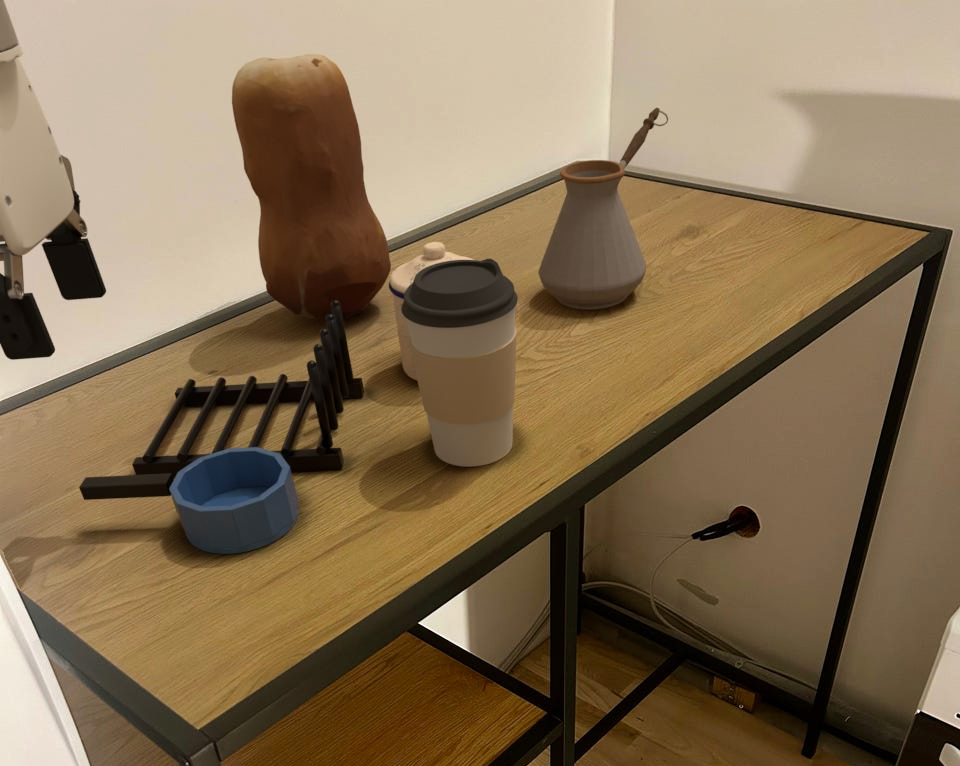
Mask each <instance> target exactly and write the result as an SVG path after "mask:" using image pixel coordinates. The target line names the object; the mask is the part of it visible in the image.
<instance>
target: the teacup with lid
mask: <svg viewBox="0 0 960 766" xmlns="http://www.w3.org/2000/svg"><path fill="white" fill-rule="evenodd" d="M422 251H423V253H422V254H420V255H419V254H418V256H416V257H415V258H413V259H412V260H409V261H407V262H404V263H403V264H401V265H399V266H397V268H395V269H394V270H393V272H392V273H391V275H390V276H389V281H388V289H389V291H390V293H392V294H391V295H392V301H393V307H394V314H395V321H396V322H395V323H396V327H397V328H396V329H397V335H398V343H399V350H400V356H401V357H400V358H401V363H402V364H401V365H402V369H403V371H404V373H405V374H406V375H407V376H408V377H409V378H411V379H412V380H414V381H416V382H418V380H417V376H416V371H415V367H414V363H413V358H412V354H411V350H410V345H409V336H410V334H409V330H408V325H407V321H406V317H405V316H404V315H403V314H402V311H401V307H402V304H403V302H404V293H405V291H406V289H407V288H408V287H409V286H410V285H411V284H412V283H413V281H414V278H415V276H416V274H417V273H418V272H420V271H421V270H422V269H424V268H426V267H428V266H431V265H434V264H437V263H441V262H446V261H452V260H475V258H470V257H468V256H464V255H457V254H456V253H454V252H450V251H446V245H445V244H444V243H442V242H440V241H431V242H428V243H426V244H424V246H423V248H422ZM518 312H519V301H518V302H517V304H516V306H515V319H516V317H517V315H518Z"/></svg>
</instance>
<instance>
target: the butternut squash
mask: <svg viewBox="0 0 960 766" xmlns="http://www.w3.org/2000/svg"><path fill="white" fill-rule="evenodd" d="M231 106H232V113H233V119H234V123H235V129H236V132H237V135H238V139H239V143H240V147H241V151H242V161H243V170H244V173H245V175H246V176H247V179H248V181H249V184H250V186H251V189H252V190H253V192H254V194H255V195H256V197H257V200H258V202H259V207H260V216H259V225H258V239H257V242H258V243H257V245H258V259H259V264H260V269H261V273H262V276H263V279H264V281H265V289H266V292H267V294H268V295H269V296H270V297H271V298H272V299H274V300H275V301H276V302H278V304H281V306H282V307H285V308H286V309H287V310H288V311H290V312H291V313H293V314H294V315H296V316H300V317H305V318H311V319H315V320H316V319H317V320H318V319H325V318H326V315H328V314H332V315H333V312H332V307H331V302H332V301H333V300H338V301H339V302H340V306H341V312H342V317H343V320H346V319H348V318H350V317H352V316H354V315H356V314H359V313H361V312H362V311H363V310H364V308H366V306H367V305H369V304H370V302H371V301H372V300H373V299H374V298H375V297H376V296H377V294H378V293H379V292H380V290H381V289H382V288H383V287H384V285H385V283H386V282H387V279H388V277H389V275H390V272H391V268H392V264H391V259H390V258H391V257H390V252H389V251H390V250H389V244H388V239H387V237H386V234H385V231H384V229H383V225H382V224H381V222H380V220H379V219H378V216H377V215H376V213H375V212H374V210H373V207H372V206H371V203H370V202H369V199H368V196H367V195H368V194H367V191H366V185H365V180H364V179H365V177H364V172H365V171H364V161H363V152H362V139H361V133H360V126H359V123H358V118H357V114H356V112H355V109H354V105H353V101H352V98H351V93H350V89H349V86H348V83H347V81H346V78H345V76H344V73H342V71H341V69H340V67H339V66H338V64H336V63H335V62H334V61H332V60H331V59H329V58H328V57H326V56H325V55H323V54H316V53H315V54H314V53H313V54H303V55H295V56H291V57H283V58H282V57H281V58H271V57H259V58H256V59H252V60H250V61H248V62H246V63H244V65H242V66H241V67H240V69H239V70H237V72H236V74H235V77H234V79H233V82H232V87H231Z"/></svg>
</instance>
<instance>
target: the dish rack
mask: <svg viewBox="0 0 960 766" xmlns="http://www.w3.org/2000/svg"><path fill="white" fill-rule="evenodd" d="M331 307H332V312H333V315H332V314H328V315H326V318H324V319H325V324H326V328H321V329H320V330H319V338H320V343H321V344H320V343H315V344H314V345H313V348H312V350H313V355H314V358H315V360H309V361H307V363H306V371H307V374H308V379H307V380H295V381H288V376H287V375H286V374H285V373H281V374H279V376H278V378H277V380H276V381H275V382H259V383H257V381H258V379H257V378H256V376H254V375H249V377H247V380H246V382H245V383H239V384H227V379H225V377H218V379H217V380H216V382H215V383H214V385H203V386H196V385H197V383H196V381H195V379H193V378H189V379H187V380H186V382H185V384H184V386H183V387H177V388H176V389H175V392H174V396H175V401H174V403H173V405H172V407H171V408H170V410H169V411H168V413H167V414H166V416H165V418H164V420H163V421H162V423H161V425H160V426H159V429H158V430H157V432H156V433H155V434H154V437H153V438H152V440H151V441H150V443H149V445H148V447H147V449H146V450H145V452H144V453H143V455H142V456H136V457H135V458H134V460H133V462H132V463H131V465H132V468H133V471H134V475H147V474H168V473H171V474H172V477H173V478H175V477H176V475H177V473H178V472H179V471H180V470H182V469H183V468H185V467H186V466H188V465H189V464H191V463H192V462H194V461H195V460H197V459H198V458H200V457H203V456H206V455H210V454H213V453H216V452H219V451H223V450H226V447H227V445H228V443H229V441H230V438H231V437H232V435H233V433H234V430H235V428H236V426H237V424H238V422H239V419H240V417H241V415H242V413H243V411H244V409H245V407H246V405H249V404H266V406H265V407H264V410H263V413H262V415H261V417H260V419H259V421H258V424H257V425H256V428H255V430H254V433H253V435H252V437H251V440H250V441H249V444H248V447H247V448H250V447H259V448H260V446H261V443H262V441H263V438H264V436H265V434H266V431H267V429H268V427H269V424H270V423H271V420H272V417H273V415H274V412H275V410H276V408H277V405H278V403H287V402H299V403H298V406H297V408H296V410H295V413H294V416H293V418H292V421H291V423H290V426H289V428H288V431H287V434H286V435H285V439H284V441H283V444H282V446H281V449H280V450H272V451H273V452H276V453H279V454H281V455H282V457H283V458H284V460H285V461H286V462H287V464H288V465H289V466H290V469H291V473H294V472H295V473H297V472H315V471H316V472H317V471H338V470H340V471H341V470H342V469H343V467H344V463H345V460H344V456H343V451H342V450H343V449H342V447H333V445H334V442H333V436H332V432H333V431H337V430H339V421H338V417H337V416H338V414H342V413H344V410H345V408H344V402H343V400H344V399H361V398H362V399H363V397H364V394H365V388H364V382H363V381H364V380H363V378H362V377H354V373H353V367H352V363H351V356H350V351H349V346H348V339H347V334H346V329H345V328H346V327H345V323H344V319H343V317H342V312H341V306H340V302H339V301H338V300H333V301H332V302H331ZM311 401H313V402H314V407H315V412H316V416H317V421H318V425H319V426H318V427H319V431H320V436H319V439H318V442H317V445H316V448H303V449H302V448H301V449H300V448H299V449H293V448H294V444H295V442H296V439H297V436H298V434H299V431H300V429H301V426H302V423H303V421H304V419H305V415H306V413H307V410H308V407H309V404H310V402H311ZM228 405H234V407H233V408H232V411H231V412H230V415H229V417H228V418H227V421H226V423H225V425H224V427H223V429H222V431H221V433H220V435H219V437H218V438H217V441H216V443H215V445H214V446H213V450H212V451H211V453H200V454H199V453H198V454H190V453H191V451H192V449H193V447H194V446H195V443H196V441H197V439H199V438H198V437H199V436H200V434H201V432H202V430H203V428H204V426H205V425H206V422H207V420H208V418H209V416H210V415H211V413H212V411H213V409H214V407H215V406H228ZM190 407H201V409H200V412H199V413H198V415H197V417H196V419H195V421H194V423H193V424H192V426H191V428H190V429H189V432H188V434H187V435H186V437H185V439H184V440H183V443H182V445H181V446H180V449H179V450H178V452H177V454H176V455H158V456H157V455H156V454H158V451H159V449H160V448H161V446H162V444H163V442H164V441H165V439H166V437H167V435H168V434H169V432H170V430H171V429H172V427H173V425H174V423H175V422H176V420H177V419H178V417H179V415H180V413H181V412H182V409H183V408H190Z"/></svg>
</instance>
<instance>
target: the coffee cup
mask: <svg viewBox="0 0 960 766" xmlns="http://www.w3.org/2000/svg"><path fill="white" fill-rule="evenodd" d="M518 296H519V295H518V294H517V293H516V291H515V285H514V283H513V281H512V280H510V278H508V277H507V276H506V275H505V274H503V271H502V270H501V267H500V265H499V263H498V262H497V261H496V260H494V259H493V258H485V259H482V260H476V259H474V260H452V261H446V262H441V263H437V264H434V265H431V266H428V267H426V268H424V269H422V270H421V271H420V272H418V273H417V274H416V276H415V278H414V281H413V283H412V284H411V285H410V286H409V287H408V288H407V289H406V291H405V293H404V302H403V304H402V307H401V311H402V314H403V315H404V316H405V317H406V321H407V325H408V330H409V334H410V336H409V345H410V350H411V354H412V358H413V363H414V367H415V371H416V376H417V380H418V381H417V380H416V381H417V385H418V388H419V393H420V398H421V401H422V406H423V410H424V412H425V413H426V418H427V422H428V426H429V431H430V435H431V440H432V444H433V449H434V454H435V455H436V456H437V457H438V458H439V459H440V460H441V461H442V462H444V463H446V464H450V465H452V466H458V467H467V468H469V467H470V468H472V467H482V466H486V465H490V464H493V463H496V462H497V461H499V460H502V459H503V458H504V457H506V456H507V455H508V454H509V453H510V452H511V450H512V449H513V448H512V447H513V439H514V438H513V437H514V435H513V434H514V432H513V431H514V403H515V399H516V396H515V395H516V372H517V371H516V369H517V366H516V365H517V339H518V338H517V336H518V333H517V332H518V329H517V327H516V318H515V306H516V304H517V302H518V303H519V297H518Z"/></svg>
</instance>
